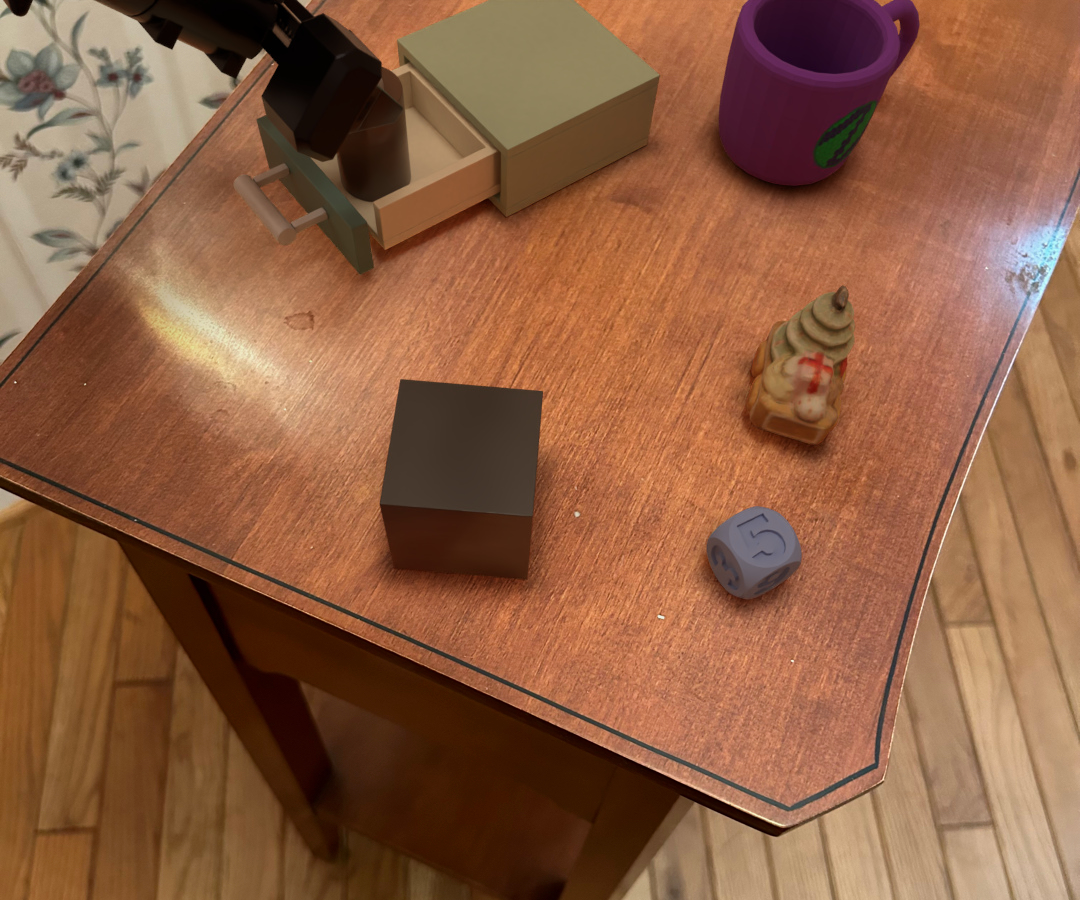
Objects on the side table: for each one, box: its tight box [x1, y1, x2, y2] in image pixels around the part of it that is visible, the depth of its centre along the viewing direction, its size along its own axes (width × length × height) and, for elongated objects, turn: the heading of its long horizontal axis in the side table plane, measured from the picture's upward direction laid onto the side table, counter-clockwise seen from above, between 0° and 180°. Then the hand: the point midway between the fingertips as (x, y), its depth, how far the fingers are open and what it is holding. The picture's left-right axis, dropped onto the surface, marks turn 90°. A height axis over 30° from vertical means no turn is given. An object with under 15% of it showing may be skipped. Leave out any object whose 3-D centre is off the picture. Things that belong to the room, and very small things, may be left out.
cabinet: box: [396, 0, 661, 218], centre depth 71 cm, size 14×14×6 cm
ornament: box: [745, 285, 856, 446], centre depth 58 cm, size 8×6×10 cm
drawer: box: [232, 62, 501, 276], centre depth 66 cm, size 16×12×4 cm
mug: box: [718, 0, 921, 187], centre depth 70 cm, size 17×11×10 cm, turn 124°
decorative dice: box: [705, 505, 803, 600], centre depth 55 cm, size 4×4×4 cm
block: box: [378, 378, 544, 580], centre depth 54 cm, size 8×8×8 cm
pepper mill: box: [336, 66, 411, 202], centre depth 64 cm, size 5×5×9 cm
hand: (358, 72), depth 60 cm, fingers open, 9 cm apart
